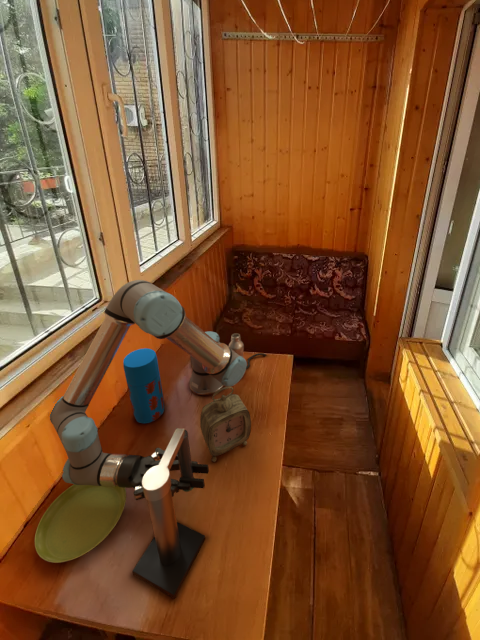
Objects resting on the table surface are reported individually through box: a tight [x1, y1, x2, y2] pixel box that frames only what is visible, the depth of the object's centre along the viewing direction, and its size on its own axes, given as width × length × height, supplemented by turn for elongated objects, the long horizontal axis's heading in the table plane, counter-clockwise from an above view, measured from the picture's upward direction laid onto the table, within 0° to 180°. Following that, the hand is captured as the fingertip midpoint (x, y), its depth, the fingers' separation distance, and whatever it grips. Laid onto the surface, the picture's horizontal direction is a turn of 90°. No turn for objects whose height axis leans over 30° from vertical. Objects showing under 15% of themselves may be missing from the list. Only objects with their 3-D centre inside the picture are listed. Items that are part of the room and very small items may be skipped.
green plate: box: [34, 484, 127, 564], centre depth 83 cm, size 21×21×3 cm
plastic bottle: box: [228, 332, 245, 358], centre depth 134 cm, size 6×7×20 cm
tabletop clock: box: [199, 386, 252, 463], centre depth 101 cm, size 14×9×25 cm, turn 123°
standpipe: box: [132, 488, 206, 600], centre depth 73 cm, size 12×12×24 cm
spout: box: [142, 427, 195, 501], centre depth 77 cm, size 18×6×22 cm, turn 176°
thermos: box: [122, 347, 165, 424], centre depth 114 cm, size 11×11×25 cm
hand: (205, 476), depth 85 cm, fingers closed on spout, 3 cm apart
